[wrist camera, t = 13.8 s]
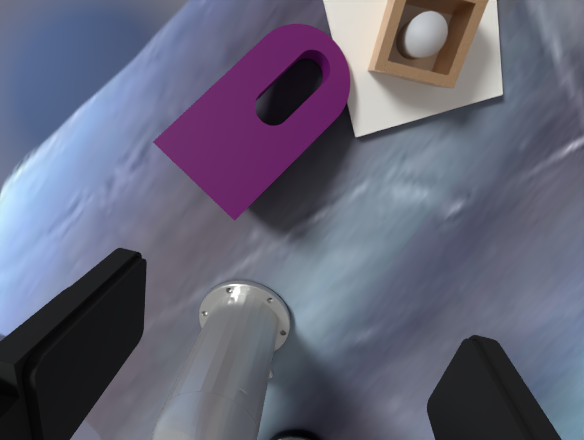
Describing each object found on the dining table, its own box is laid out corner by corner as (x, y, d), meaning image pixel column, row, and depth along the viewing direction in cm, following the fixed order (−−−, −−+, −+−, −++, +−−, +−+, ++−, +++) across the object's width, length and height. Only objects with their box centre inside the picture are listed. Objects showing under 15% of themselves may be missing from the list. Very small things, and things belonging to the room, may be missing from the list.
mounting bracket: (283, 42, 37) (166, 152, 35) (303, 1, 29) (152, 141, 27) (337, 107, 39) (230, 213, 38) (369, 86, 31) (234, 220, 29)
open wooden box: (465, 6, 28) (491, -7, 24) (434, 87, 31) (453, 88, 27) (391, -12, 28) (403, -29, 24) (367, 70, 31) (374, 69, 27)
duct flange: (497, 94, 32) (526, 96, 27) (354, 135, 35) (359, 144, 30) (485, -81, 27) (517, -114, 22) (319, -16, 30) (318, -33, 25)
